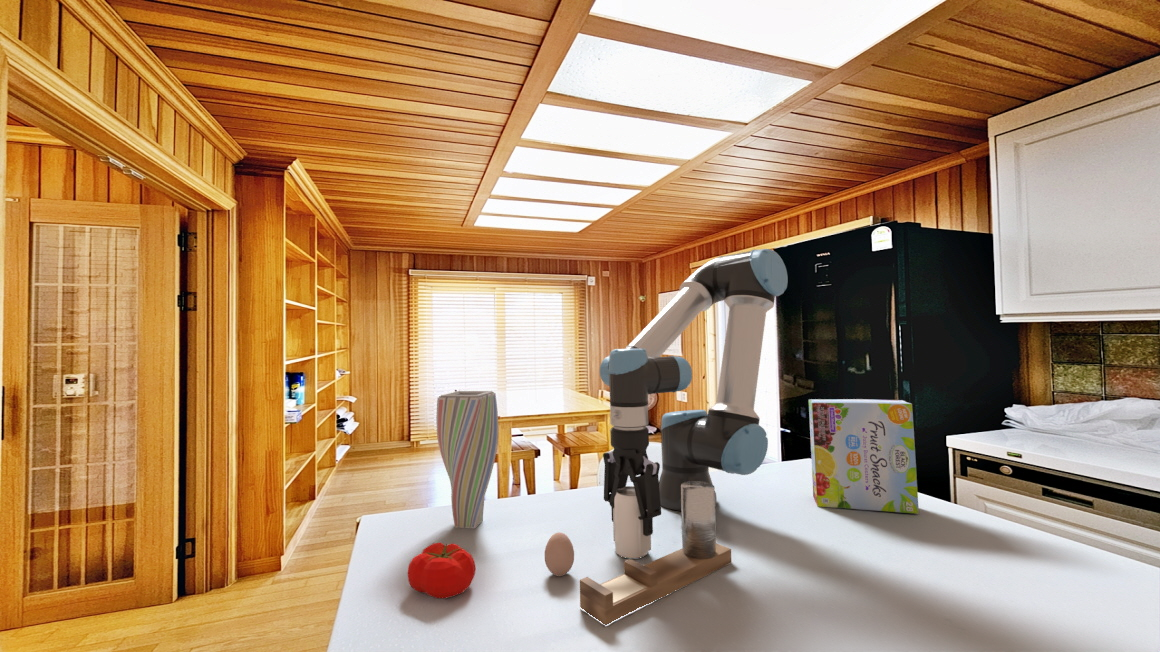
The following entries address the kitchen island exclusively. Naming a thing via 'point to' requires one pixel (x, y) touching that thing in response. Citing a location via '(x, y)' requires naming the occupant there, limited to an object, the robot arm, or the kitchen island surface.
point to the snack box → (863, 454)
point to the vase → (468, 449)
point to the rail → (646, 583)
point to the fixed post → (698, 520)
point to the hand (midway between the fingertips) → (631, 545)
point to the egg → (559, 554)
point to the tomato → (441, 570)
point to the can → (626, 523)
